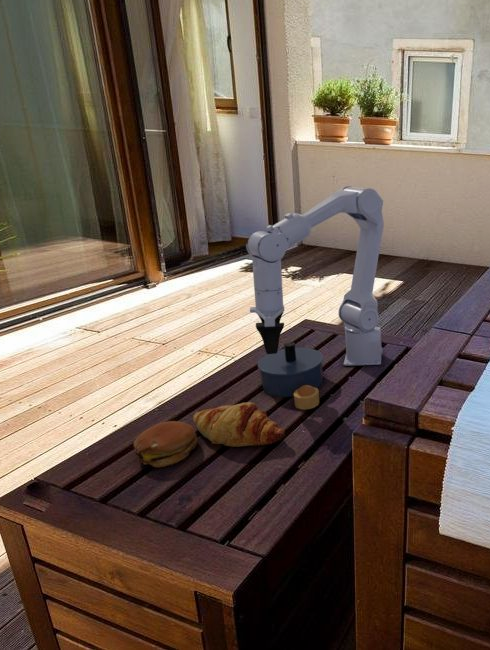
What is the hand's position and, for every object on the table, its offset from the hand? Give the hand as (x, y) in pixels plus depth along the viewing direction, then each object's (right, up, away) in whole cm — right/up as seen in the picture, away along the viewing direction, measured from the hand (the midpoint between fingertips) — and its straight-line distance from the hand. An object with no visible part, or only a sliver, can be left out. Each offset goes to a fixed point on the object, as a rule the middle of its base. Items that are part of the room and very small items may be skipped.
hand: (272, 346), depth 105 cm
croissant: (-1, -16, -14) cm, 21 cm away
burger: (-12, -18, -19) cm, 29 cm away
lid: (+3, -4, +5) cm, 7 cm away
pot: (+3, -9, +6) cm, 11 cm away
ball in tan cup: (+9, -12, -3) cm, 15 cm away
